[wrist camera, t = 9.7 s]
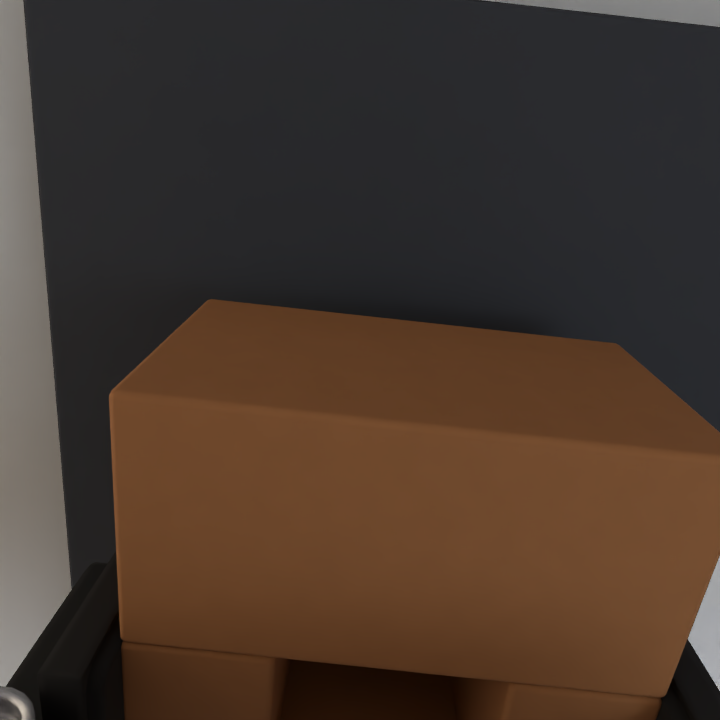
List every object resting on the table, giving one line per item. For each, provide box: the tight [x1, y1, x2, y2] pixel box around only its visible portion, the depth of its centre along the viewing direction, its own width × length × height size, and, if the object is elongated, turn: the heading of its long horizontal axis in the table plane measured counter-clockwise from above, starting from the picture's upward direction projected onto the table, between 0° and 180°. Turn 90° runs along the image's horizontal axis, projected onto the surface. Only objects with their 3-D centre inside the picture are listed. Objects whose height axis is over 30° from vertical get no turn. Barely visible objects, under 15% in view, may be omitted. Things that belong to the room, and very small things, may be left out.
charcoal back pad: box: [23, 0, 720, 589], centre depth 13 cm, size 20×14×5 cm
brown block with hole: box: [109, 299, 720, 720], centre depth 10 cm, size 10×7×4 cm
